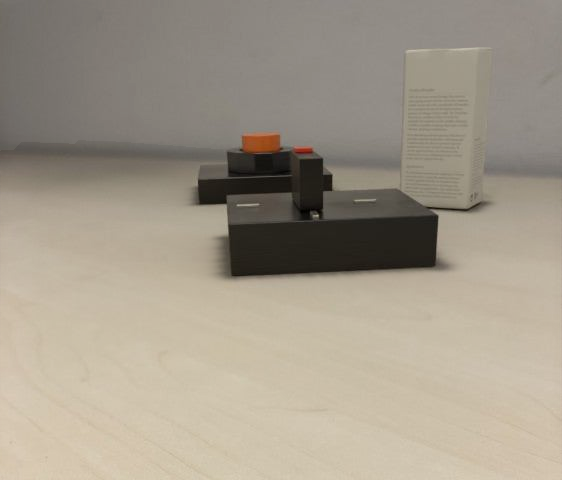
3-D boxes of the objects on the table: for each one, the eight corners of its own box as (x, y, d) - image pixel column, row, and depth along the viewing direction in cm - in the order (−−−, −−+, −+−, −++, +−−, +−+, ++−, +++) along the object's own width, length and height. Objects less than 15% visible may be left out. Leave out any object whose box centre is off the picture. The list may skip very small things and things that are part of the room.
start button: (243, 156, 64) (242, 136, 64) (241, 152, 68) (241, 133, 67) (282, 155, 65) (281, 134, 64) (279, 150, 68) (278, 131, 67)
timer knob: (323, 209, 42) (323, 153, 41) (300, 211, 42) (299, 154, 41) (313, 197, 46) (312, 146, 45) (291, 198, 46) (290, 146, 45)
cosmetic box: (482, 202, 60) (496, 47, 55) (467, 211, 56) (480, 46, 52) (414, 198, 63) (422, 50, 58) (396, 205, 59) (402, 49, 55)
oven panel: (231, 275, 40) (228, 220, 39) (228, 238, 50) (226, 192, 48) (435, 266, 41) (439, 212, 40) (396, 231, 50) (397, 185, 49)
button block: (199, 204, 63) (196, 157, 61) (201, 187, 72) (198, 146, 70) (332, 198, 63) (332, 152, 62) (317, 182, 73) (317, 142, 71)
